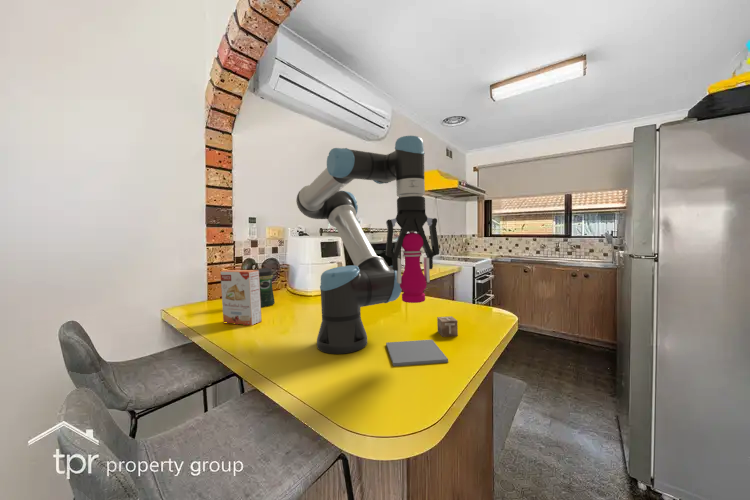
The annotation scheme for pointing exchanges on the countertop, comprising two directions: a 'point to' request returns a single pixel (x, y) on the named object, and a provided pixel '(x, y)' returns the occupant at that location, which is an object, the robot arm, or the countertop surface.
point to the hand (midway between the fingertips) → (413, 281)
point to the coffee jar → (266, 287)
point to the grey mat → (415, 353)
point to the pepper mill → (412, 269)
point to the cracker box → (241, 296)
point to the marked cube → (447, 326)
